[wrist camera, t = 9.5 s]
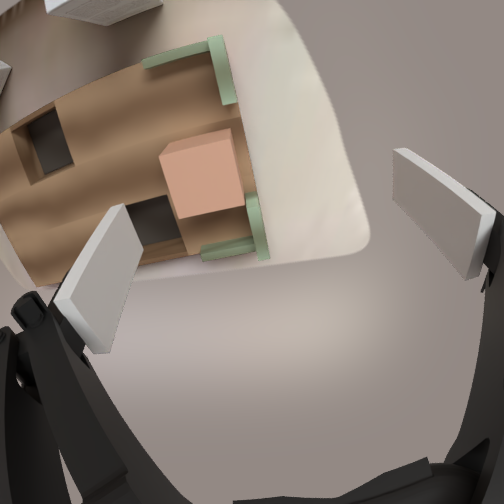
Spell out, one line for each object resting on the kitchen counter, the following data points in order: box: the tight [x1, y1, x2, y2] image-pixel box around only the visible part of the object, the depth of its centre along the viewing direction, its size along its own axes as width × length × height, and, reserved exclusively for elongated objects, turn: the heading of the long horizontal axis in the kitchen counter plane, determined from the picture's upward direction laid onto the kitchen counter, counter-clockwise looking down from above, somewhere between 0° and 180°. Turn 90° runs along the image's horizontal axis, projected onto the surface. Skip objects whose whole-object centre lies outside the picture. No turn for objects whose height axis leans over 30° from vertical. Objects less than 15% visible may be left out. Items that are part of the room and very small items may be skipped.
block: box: [159, 128, 245, 219], centre depth 22 cm, size 5×5×4 cm
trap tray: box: [0, 35, 270, 287], centre depth 24 cm, size 18×28×6 cm, turn 101°
